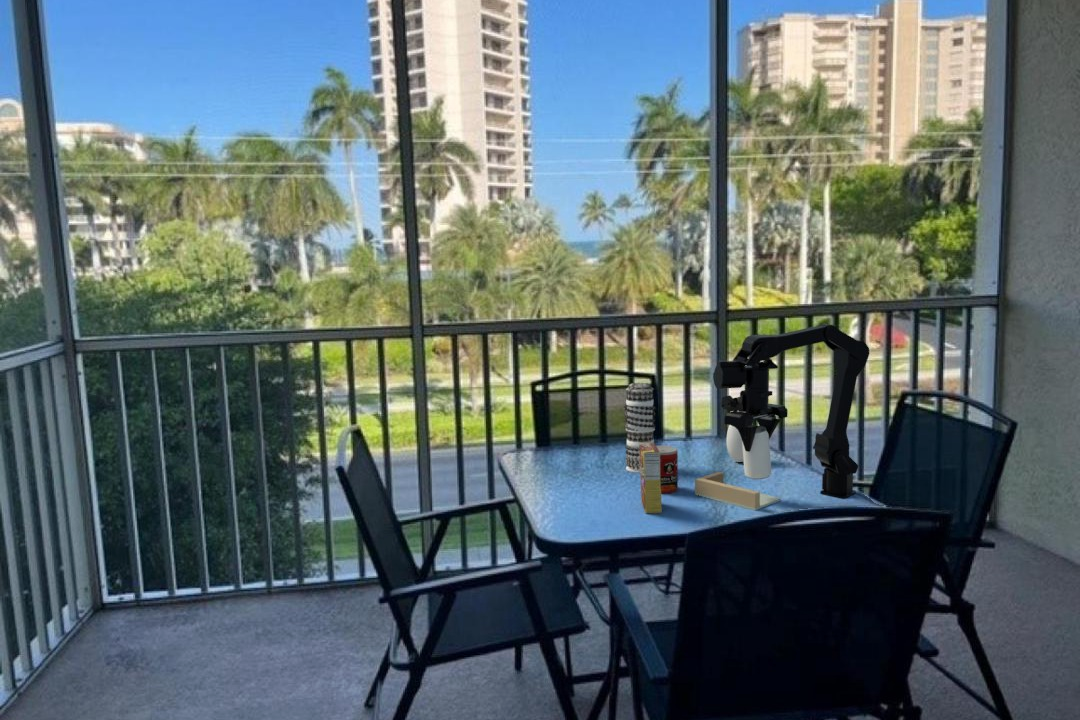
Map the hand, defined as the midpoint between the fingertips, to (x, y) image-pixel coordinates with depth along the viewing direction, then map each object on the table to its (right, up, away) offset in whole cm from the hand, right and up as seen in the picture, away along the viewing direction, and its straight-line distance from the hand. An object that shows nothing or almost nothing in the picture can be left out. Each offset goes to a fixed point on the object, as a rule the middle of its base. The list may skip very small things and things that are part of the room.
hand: (755, 449), depth 195 cm
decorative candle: (-24, -10, +34) cm, 43 cm away
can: (+1, -7, +2) cm, 7 cm away
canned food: (-21, -12, +13) cm, 28 cm away
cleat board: (-3, -13, +5) cm, 14 cm away
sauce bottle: (+6, -8, +39) cm, 40 cm away
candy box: (-26, -14, -2) cm, 30 cm away
